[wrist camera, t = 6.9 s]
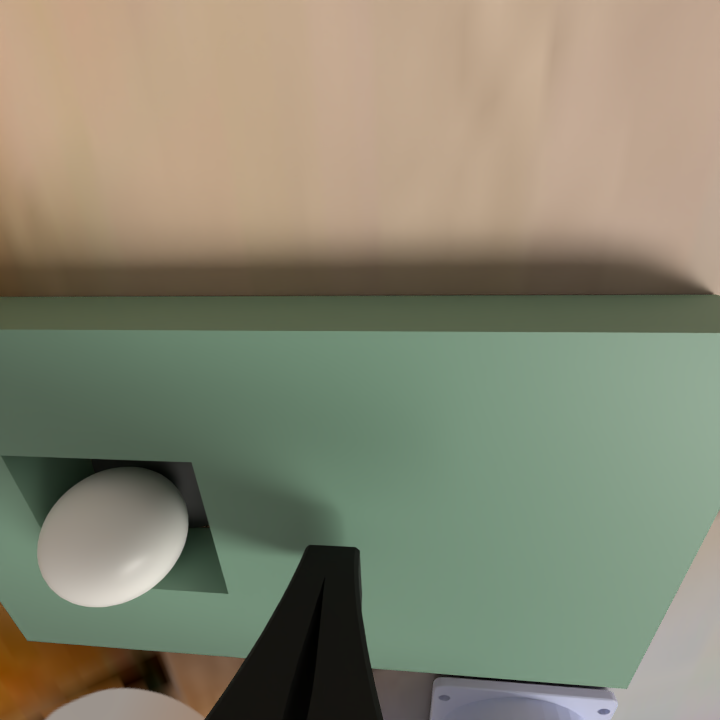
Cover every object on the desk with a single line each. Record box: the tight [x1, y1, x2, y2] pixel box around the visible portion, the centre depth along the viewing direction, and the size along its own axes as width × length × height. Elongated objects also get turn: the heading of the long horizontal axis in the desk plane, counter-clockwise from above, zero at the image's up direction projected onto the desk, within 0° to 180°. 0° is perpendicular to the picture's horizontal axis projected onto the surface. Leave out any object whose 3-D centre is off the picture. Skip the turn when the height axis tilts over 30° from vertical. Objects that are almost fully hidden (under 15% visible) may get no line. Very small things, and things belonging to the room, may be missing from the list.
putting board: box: [0, 295, 720, 689], centre depth 13 cm, size 13×22×2 cm, turn 92°
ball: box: [37, 467, 188, 607], centre depth 12 cm, size 4×4×4 cm
